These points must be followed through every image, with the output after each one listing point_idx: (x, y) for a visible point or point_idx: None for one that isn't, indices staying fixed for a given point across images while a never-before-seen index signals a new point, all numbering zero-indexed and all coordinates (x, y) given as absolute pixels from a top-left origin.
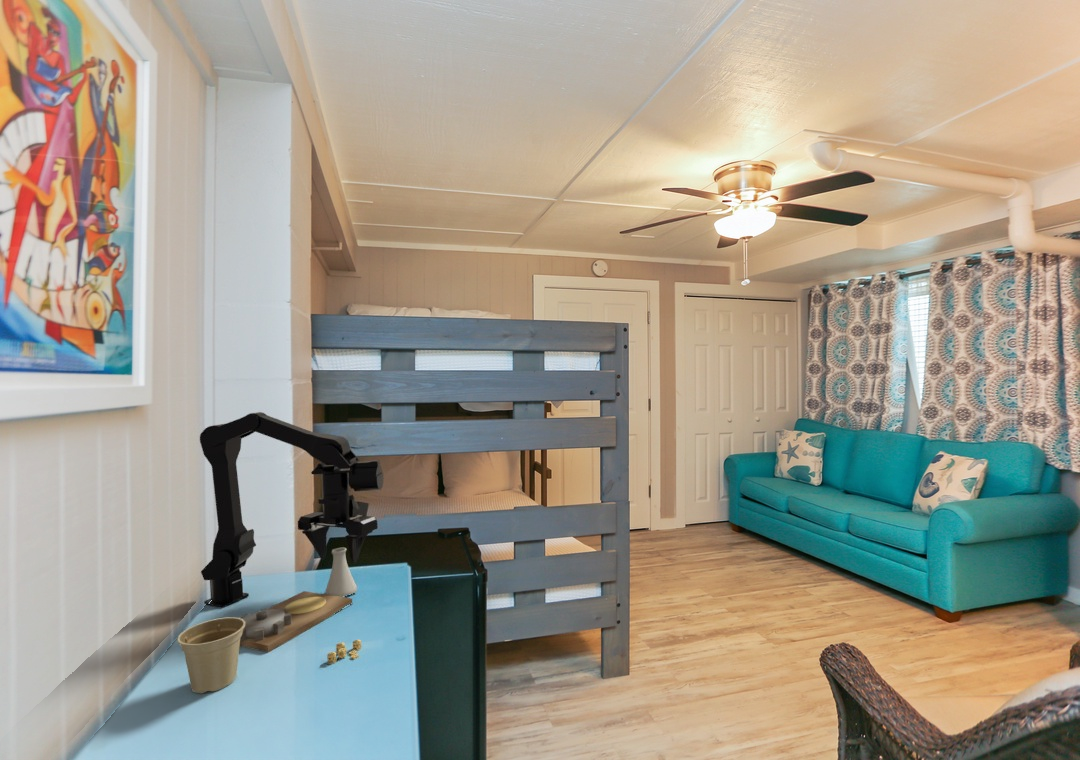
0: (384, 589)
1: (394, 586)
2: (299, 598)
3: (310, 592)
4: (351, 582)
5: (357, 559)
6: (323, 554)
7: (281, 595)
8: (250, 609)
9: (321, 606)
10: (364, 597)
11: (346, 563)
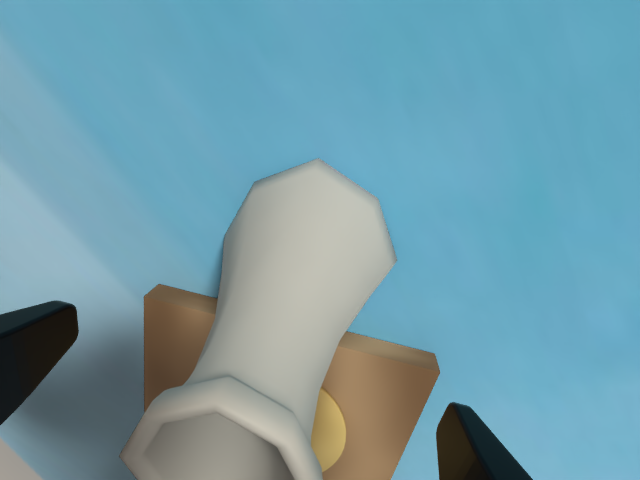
0: (548, 185)
1: (609, 134)
2: (189, 365)
3: (188, 311)
4: (378, 282)
5: (484, 427)
6: (36, 355)
7: (53, 274)
8: (62, 381)
9: (344, 441)
10: (463, 288)
11: (323, 327)
